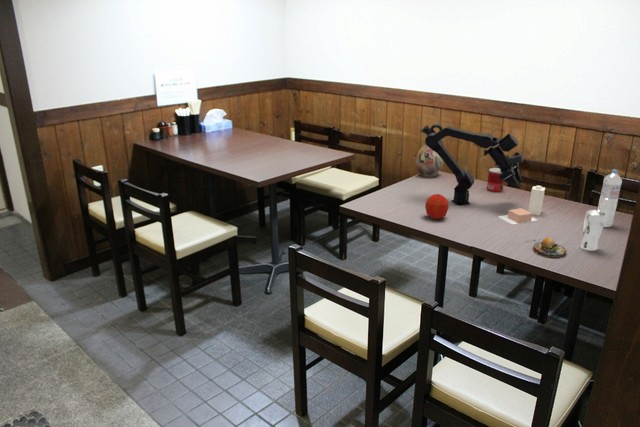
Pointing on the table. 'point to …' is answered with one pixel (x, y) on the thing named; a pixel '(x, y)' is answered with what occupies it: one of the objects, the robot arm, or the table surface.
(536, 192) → the tall block
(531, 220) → the baseplate
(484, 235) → the table surface
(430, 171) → the ceramic jug
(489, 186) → the canned food
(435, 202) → the apple
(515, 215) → the base block
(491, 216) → the table surface
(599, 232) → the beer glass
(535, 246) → the burger
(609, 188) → the water bottle
